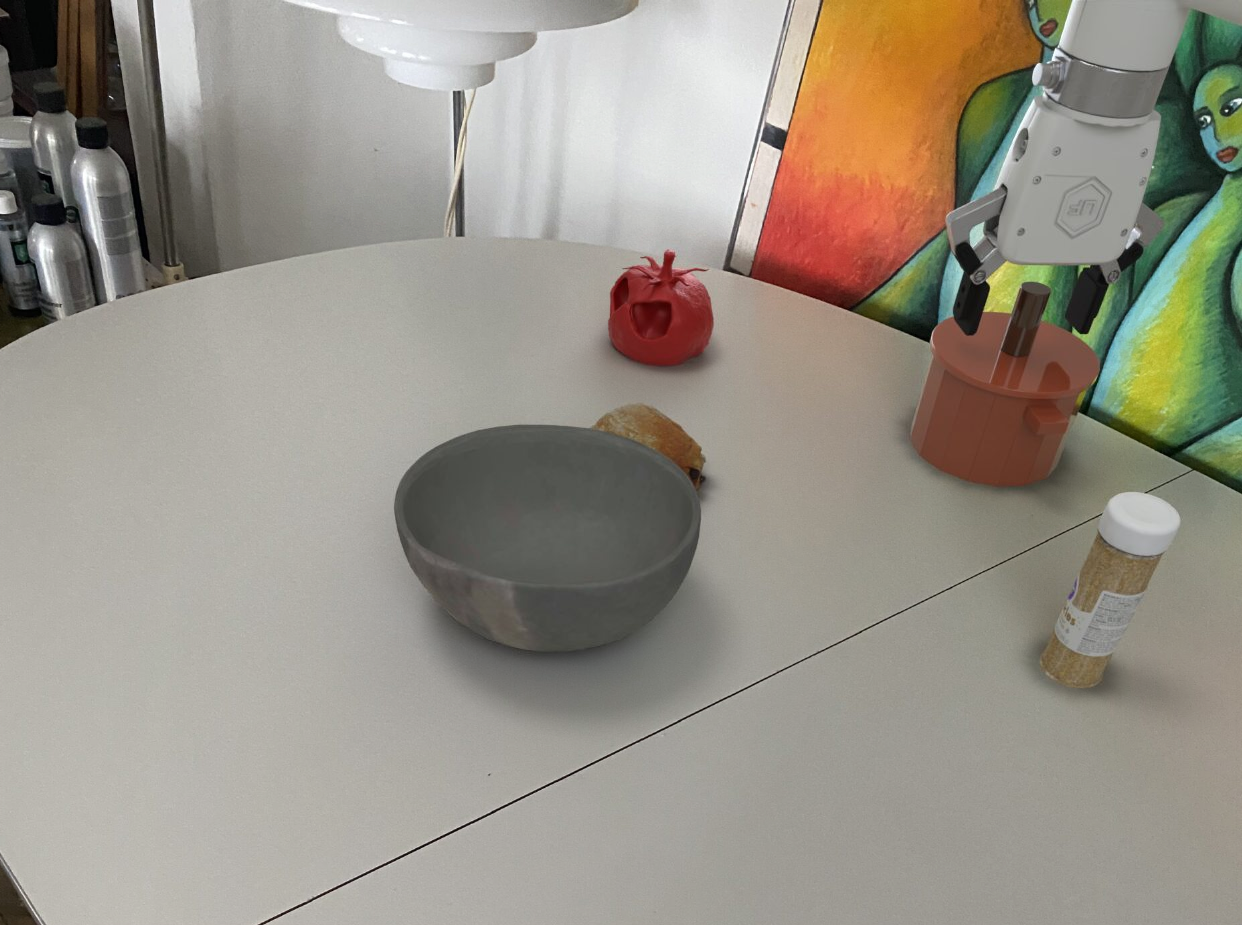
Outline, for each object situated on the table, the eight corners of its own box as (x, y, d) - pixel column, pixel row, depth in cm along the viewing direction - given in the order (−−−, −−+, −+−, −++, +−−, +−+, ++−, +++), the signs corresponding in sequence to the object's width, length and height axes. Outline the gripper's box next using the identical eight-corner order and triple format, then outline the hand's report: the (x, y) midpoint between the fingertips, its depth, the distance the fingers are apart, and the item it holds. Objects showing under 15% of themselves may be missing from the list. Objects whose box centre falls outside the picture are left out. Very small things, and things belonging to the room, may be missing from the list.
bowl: (737, 599, 89) (759, 478, 81) (581, 754, 77) (591, 629, 69) (515, 501, 95) (517, 380, 88) (341, 630, 83) (326, 503, 76)
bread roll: (616, 483, 104) (584, 395, 99) (727, 462, 99) (698, 369, 94) (577, 544, 98) (540, 453, 93) (693, 525, 93) (660, 429, 88)
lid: (1052, 323, 104) (1079, 249, 100) (1123, 404, 96) (1155, 327, 91) (904, 326, 102) (924, 251, 97) (963, 409, 93) (987, 330, 89)
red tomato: (667, 318, 117) (677, 217, 110) (730, 363, 112) (746, 260, 105) (582, 340, 113) (588, 236, 106) (644, 387, 108) (654, 282, 101)
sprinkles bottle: (1031, 650, 87) (1102, 485, 77) (1095, 657, 87) (1174, 493, 77) (1041, 692, 84) (1116, 526, 74) (1106, 699, 84) (1190, 534, 74)
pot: (1008, 397, 112) (1039, 305, 105) (1092, 507, 100) (1133, 412, 94) (879, 400, 109) (903, 307, 103) (950, 514, 98) (982, 416, 92)
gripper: (1009, 101, 80) (935, 351, 93) (1242, 106, 83) (1139, 348, 96) (967, 62, 85) (902, 306, 97) (1189, 69, 87) (1098, 304, 100)
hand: (1020, 327), depth 97 cm, fingers open, 9 cm apart
